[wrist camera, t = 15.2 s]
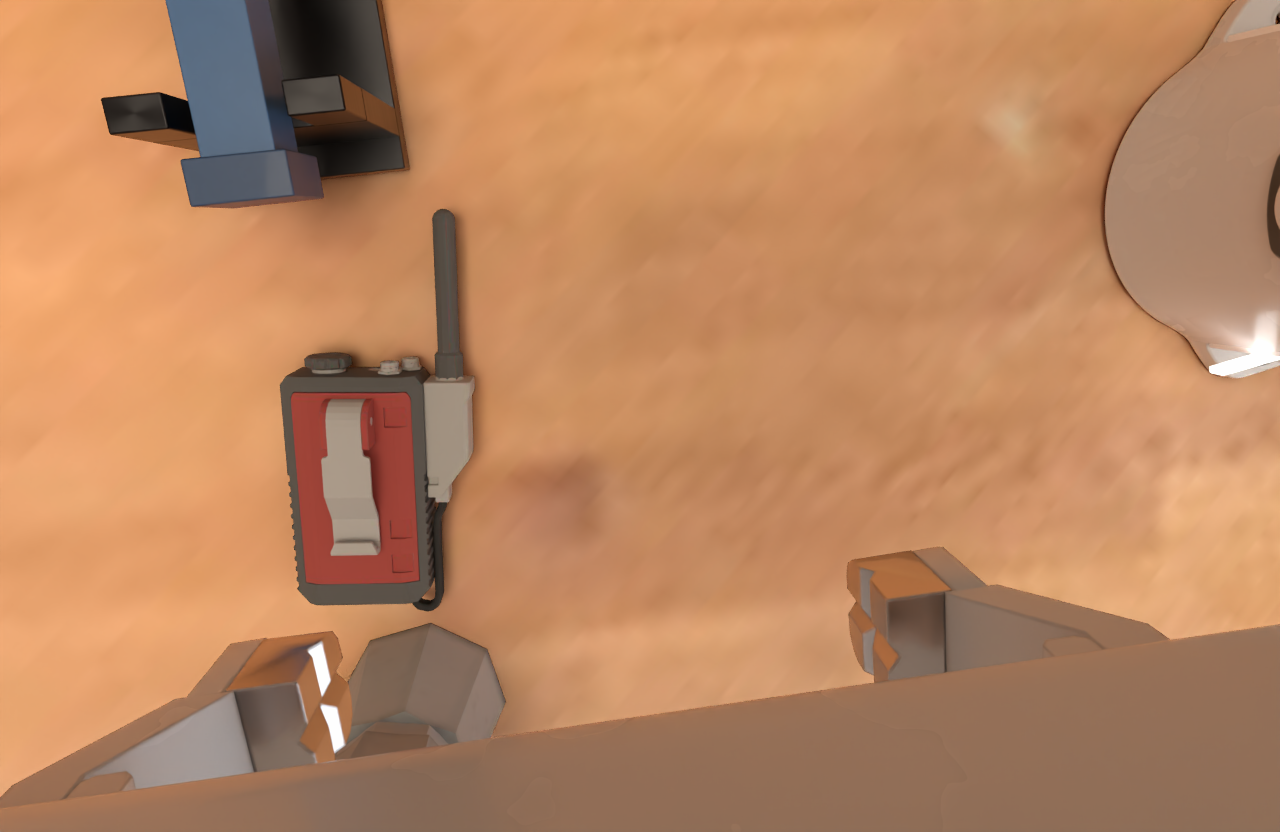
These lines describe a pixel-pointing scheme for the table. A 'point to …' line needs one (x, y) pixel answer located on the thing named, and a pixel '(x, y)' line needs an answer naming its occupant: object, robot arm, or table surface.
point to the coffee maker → (421, 693)
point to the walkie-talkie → (379, 461)
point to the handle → (238, 107)
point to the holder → (307, 91)
